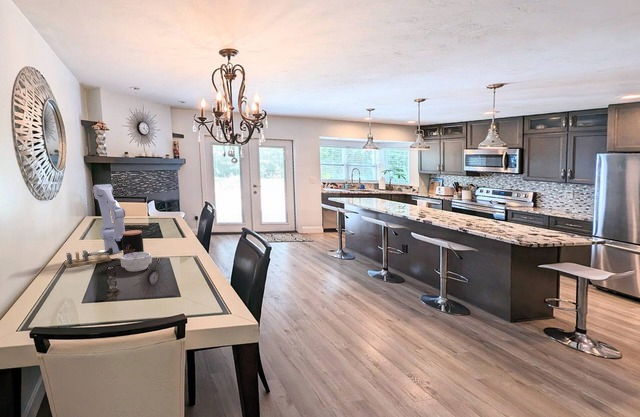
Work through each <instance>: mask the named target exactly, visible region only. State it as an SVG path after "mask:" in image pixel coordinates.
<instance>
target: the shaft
mask: <svg viewBox="0 0 640 417" xmlns="http://www.w3.org/2000/svg"><path fill="white" fill-rule="evenodd" d="M107 253H109V254H108V256H109V255H110V256H111V255H113V249H112V248H108V250H105V249H104V250H99V251H93V252H88V257H95V256H101V255H106V254H107ZM81 257H82V258H83V257H84V254H83V253H82V254H81Z"/></svg>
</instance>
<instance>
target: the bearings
mask: <svg viewBox="0 0 640 417" xmlns="http://www.w3.org/2000/svg"><path fill="white" fill-rule="evenodd" d="M88 253H89V252H88V251H87V250H82V254H84V257H82V258H83V260H85V261H89V260H88V258H89V256H88ZM80 259H81V258H80V253H79V251H75V260H76V261H77V262H80ZM72 260H73V257H72V254H71V252H66V261H67V262H68V263H69V264H72Z"/></svg>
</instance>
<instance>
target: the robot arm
mask: <svg viewBox="0 0 640 417" xmlns="http://www.w3.org/2000/svg"><path fill="white" fill-rule="evenodd" d="M113 191H114V188H113V186H112V184H110V183H107V184H94V185H93V187H92V192H93V195H94V196H93V197H94V199H95V200H97V202H98V205H99V209H100V214H101V219H102V223H103V224H102V226H101V227H100V228H99V235H100V236H99V237H100V239H102V240H103V243H104V244H103V248H104V250H108V248H112V249H113V254H114V255H115V254H120V253H123V244H122V236H123V235H122V232H125V231H126V228H125V217H126V211H125V209H124V207H121V206H120V204H119V202H118V201H117V200H115V199H114V195H113ZM113 254H112V255H113ZM105 255H107V256H109V253H107V254H105Z"/></svg>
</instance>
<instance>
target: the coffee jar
mask: <svg viewBox="0 0 640 417" xmlns="http://www.w3.org/2000/svg"><path fill="white" fill-rule="evenodd" d="M142 233H143V230H140V229H135V230H133V229H132V230H127V231H126V230H125V232H122V235H123V236H122V244H123V251H122V256H123V255H125V254H129V253H135V252H145V250H144V238H143V237H144V235H143V234H142Z"/></svg>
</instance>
